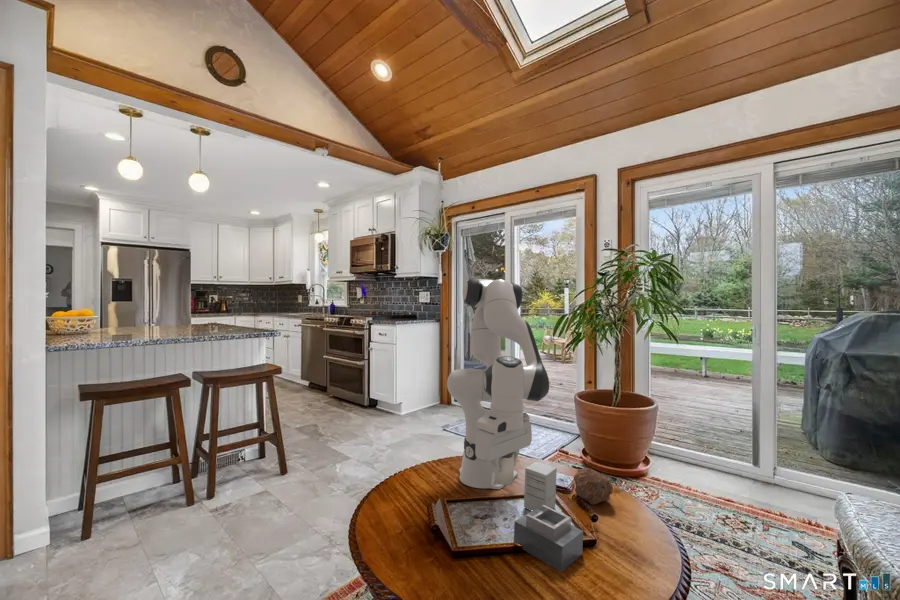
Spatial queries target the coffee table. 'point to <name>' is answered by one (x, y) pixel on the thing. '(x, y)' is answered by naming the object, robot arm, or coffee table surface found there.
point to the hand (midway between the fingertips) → (504, 469)
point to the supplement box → (540, 486)
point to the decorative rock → (592, 486)
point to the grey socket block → (549, 537)
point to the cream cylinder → (505, 470)
